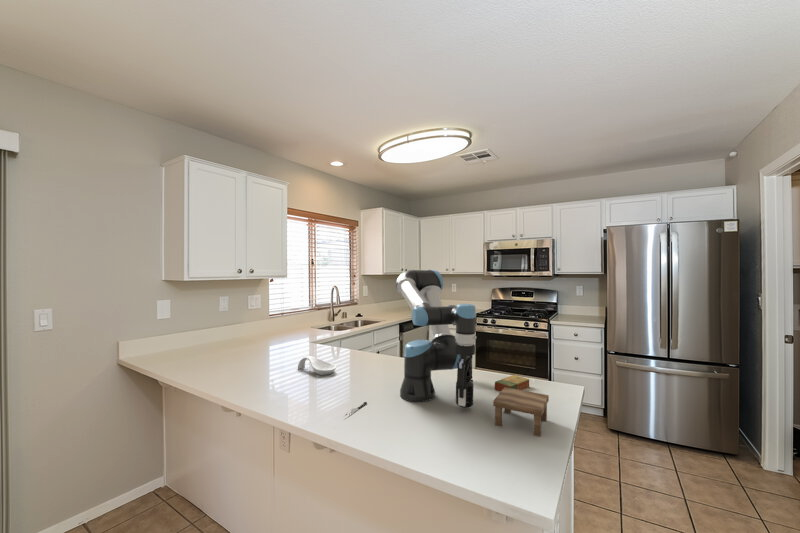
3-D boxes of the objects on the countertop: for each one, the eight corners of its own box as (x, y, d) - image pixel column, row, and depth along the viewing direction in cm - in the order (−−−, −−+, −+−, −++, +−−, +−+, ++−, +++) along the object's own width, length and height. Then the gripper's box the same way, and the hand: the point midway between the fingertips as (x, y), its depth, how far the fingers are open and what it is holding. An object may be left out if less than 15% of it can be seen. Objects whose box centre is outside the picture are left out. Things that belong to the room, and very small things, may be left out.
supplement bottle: (453, 401, 139) (454, 371, 139) (470, 400, 140) (470, 371, 140) (458, 408, 132) (458, 377, 132) (475, 408, 133) (476, 377, 133)
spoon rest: (340, 372, 183) (340, 359, 183) (325, 378, 173) (325, 364, 173) (308, 365, 195) (308, 353, 195) (291, 371, 185) (292, 357, 185)
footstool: (541, 437, 114) (541, 410, 114) (493, 425, 122) (493, 400, 122) (548, 419, 128) (548, 395, 128) (504, 409, 136) (504, 387, 136)
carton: (529, 387, 162) (529, 378, 162) (510, 395, 152) (510, 386, 152) (513, 383, 169) (514, 374, 169) (494, 390, 159) (494, 381, 159)
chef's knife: (334, 422, 125) (341, 423, 124) (334, 419, 125) (341, 420, 124) (361, 403, 143) (367, 404, 141) (361, 400, 143) (367, 401, 142)
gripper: (468, 350, 125) (467, 413, 125) (480, 339, 143) (479, 395, 143) (448, 348, 128) (447, 409, 129) (462, 337, 146) (462, 391, 146)
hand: (464, 401), depth 136 cm, fingers closed on supplement bottle, 7 cm apart
